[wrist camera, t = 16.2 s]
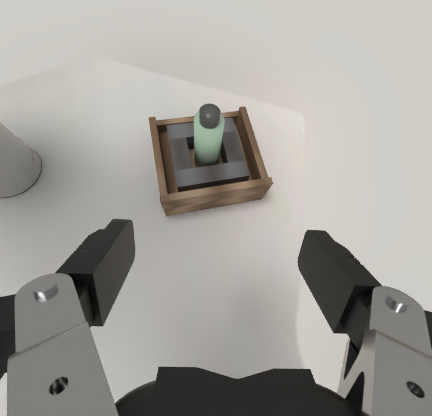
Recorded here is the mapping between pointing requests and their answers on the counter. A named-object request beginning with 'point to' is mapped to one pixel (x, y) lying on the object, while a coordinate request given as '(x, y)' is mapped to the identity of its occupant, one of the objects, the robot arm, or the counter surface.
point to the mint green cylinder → (207, 135)
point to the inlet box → (208, 175)
